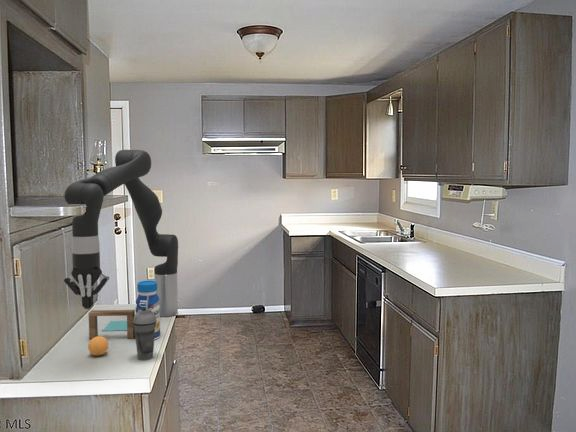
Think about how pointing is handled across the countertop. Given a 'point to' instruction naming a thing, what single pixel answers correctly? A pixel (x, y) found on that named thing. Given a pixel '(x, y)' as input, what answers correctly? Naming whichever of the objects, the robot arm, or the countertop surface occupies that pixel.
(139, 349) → the beverage cup
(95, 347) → the ball
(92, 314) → the bridge
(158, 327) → the beverage bottle
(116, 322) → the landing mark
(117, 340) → the countertop surface
